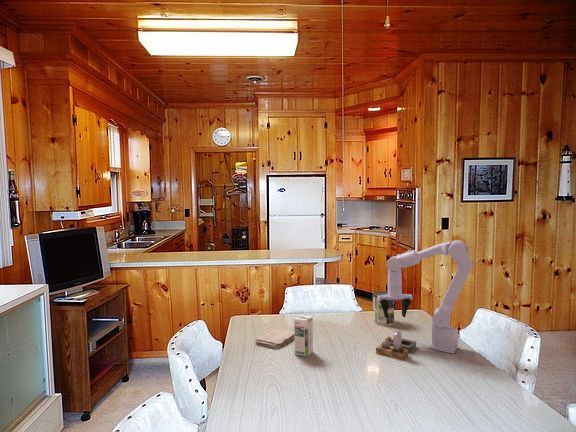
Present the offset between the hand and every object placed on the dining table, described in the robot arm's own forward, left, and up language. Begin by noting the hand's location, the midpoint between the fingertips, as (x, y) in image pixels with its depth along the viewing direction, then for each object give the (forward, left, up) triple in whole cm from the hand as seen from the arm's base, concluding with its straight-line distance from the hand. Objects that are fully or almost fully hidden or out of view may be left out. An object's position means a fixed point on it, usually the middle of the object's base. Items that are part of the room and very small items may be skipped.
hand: (394, 316), depth 162 cm
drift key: (-1, +5, -10) cm, 12 cm away
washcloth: (+42, +28, -11) cm, 51 cm away
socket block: (-5, +5, -10) cm, 13 cm away
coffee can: (+14, -20, -11) cm, 27 cm away
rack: (-4, +14, -10) cm, 18 cm away
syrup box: (+24, +33, -11) cm, 42 cm away
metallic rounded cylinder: (-7, +14, -10) cm, 19 cm away
